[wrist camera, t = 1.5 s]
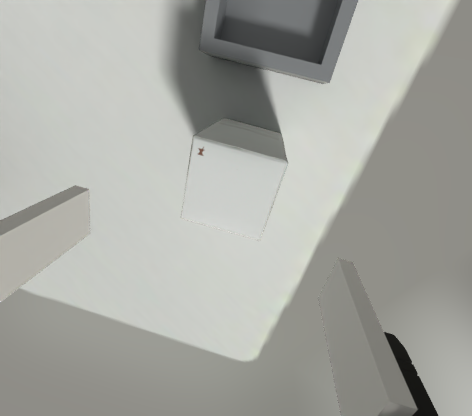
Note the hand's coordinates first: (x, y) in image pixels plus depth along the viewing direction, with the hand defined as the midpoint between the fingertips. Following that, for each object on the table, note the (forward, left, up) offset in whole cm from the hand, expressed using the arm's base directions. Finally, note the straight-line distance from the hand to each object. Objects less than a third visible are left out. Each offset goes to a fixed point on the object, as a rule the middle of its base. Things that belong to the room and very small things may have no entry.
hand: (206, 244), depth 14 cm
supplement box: (0, 0, -20) cm, 20 cm away
